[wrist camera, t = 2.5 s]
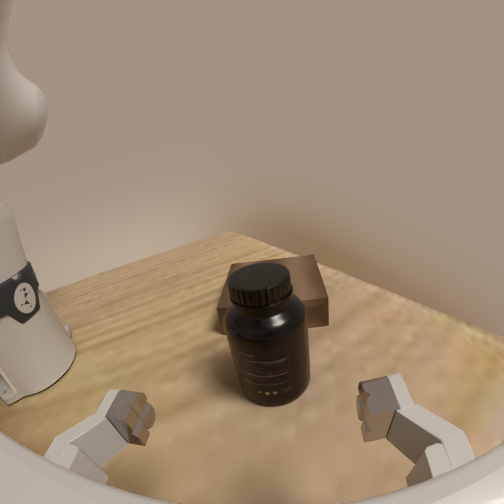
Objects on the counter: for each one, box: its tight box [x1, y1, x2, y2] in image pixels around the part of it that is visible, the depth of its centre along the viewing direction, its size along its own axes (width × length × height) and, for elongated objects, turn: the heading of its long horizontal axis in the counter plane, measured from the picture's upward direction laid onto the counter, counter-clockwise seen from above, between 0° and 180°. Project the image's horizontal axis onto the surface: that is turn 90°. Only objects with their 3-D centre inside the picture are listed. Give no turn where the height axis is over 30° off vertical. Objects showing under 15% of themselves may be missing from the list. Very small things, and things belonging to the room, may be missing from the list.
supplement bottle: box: [224, 262, 310, 405], centre depth 23 cm, size 7×7×12 cm
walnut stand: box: [217, 255, 329, 335], centre depth 39 cm, size 13×13×4 cm
